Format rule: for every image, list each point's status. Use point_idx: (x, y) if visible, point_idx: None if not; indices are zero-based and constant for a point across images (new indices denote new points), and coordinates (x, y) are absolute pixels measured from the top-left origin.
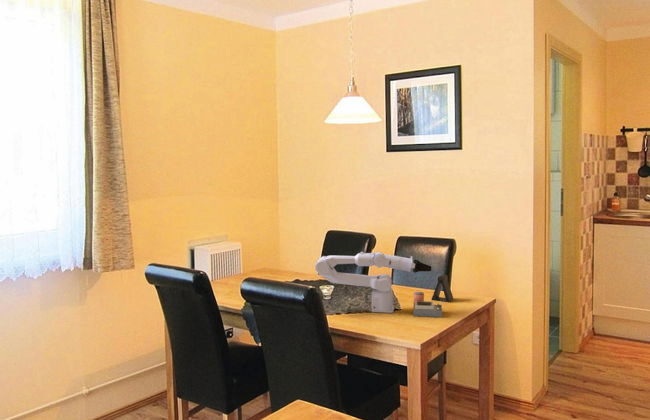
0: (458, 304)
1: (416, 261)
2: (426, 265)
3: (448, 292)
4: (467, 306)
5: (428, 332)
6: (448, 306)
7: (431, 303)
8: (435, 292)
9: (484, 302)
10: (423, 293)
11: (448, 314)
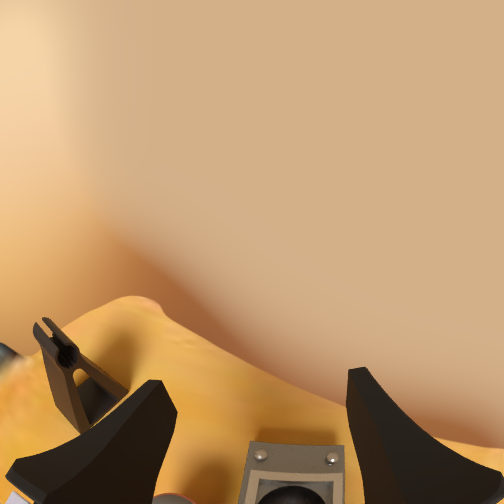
0: (159, 375)
1: (496, 502)
2: (388, 410)
3: (99, 369)
4: (188, 358)
5: (492, 463)
6: (177, 411)
7: (275, 480)
8: (78, 409)
9: (157, 311)
10: (182, 497)
11: (290, 432)
